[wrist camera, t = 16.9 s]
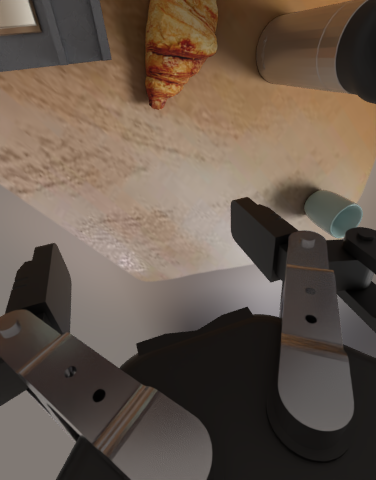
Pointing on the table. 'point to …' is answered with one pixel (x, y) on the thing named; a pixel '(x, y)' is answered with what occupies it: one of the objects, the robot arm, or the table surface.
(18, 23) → the offcut upper
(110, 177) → the table surface
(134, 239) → the table surface
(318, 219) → the cup
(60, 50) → the rack
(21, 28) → the offcut lower
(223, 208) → the table surface
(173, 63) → the croissant
